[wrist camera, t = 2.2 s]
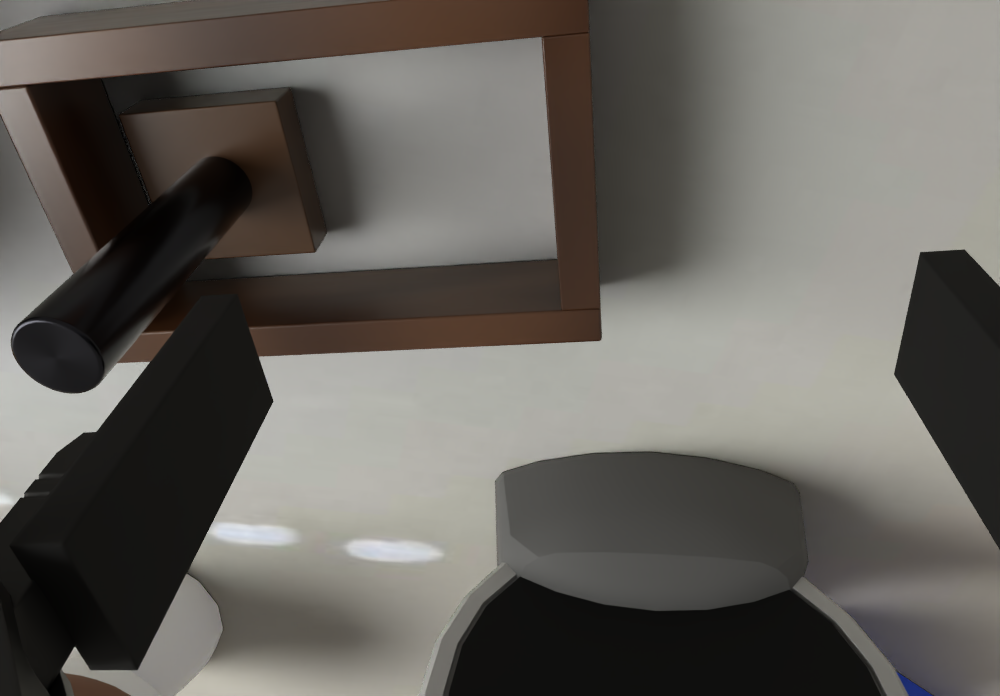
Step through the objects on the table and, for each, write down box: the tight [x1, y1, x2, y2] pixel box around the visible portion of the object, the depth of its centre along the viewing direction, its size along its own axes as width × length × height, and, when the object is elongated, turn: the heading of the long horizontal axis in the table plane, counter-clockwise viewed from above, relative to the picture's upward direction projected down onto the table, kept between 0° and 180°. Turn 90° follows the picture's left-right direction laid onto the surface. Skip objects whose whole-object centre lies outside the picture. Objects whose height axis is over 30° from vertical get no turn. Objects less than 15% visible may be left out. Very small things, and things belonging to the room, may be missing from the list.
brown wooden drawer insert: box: [0, 0, 602, 363], centre depth 24 cm, size 16×10×4 cm, turn 96°
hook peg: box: [11, 87, 327, 393], centre depth 21 cm, size 5×5×11 cm
